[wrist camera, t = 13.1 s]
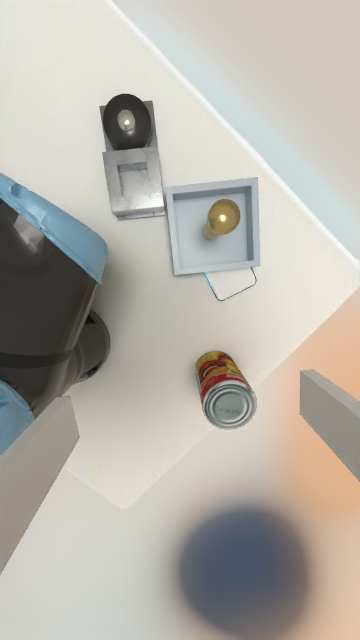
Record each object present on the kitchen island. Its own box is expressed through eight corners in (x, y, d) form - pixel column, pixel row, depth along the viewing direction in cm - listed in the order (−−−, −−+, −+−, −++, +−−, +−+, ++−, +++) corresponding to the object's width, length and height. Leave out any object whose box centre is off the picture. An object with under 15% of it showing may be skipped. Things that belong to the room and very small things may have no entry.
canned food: (241, 375, 43) (266, 413, 32) (207, 394, 44) (219, 438, 32) (222, 343, 42) (241, 370, 30) (187, 363, 43) (192, 398, 31)
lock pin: (200, 245, 37) (209, 235, 27) (198, 220, 37) (207, 200, 27) (223, 242, 37) (241, 231, 27) (221, 217, 37) (239, 197, 27)
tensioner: (165, 215, 37) (164, 209, 33) (118, 220, 37) (112, 215, 33) (152, 103, 34) (150, 84, 30) (100, 109, 34) (92, 90, 30)
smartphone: (256, 282, 40) (220, 197, 37) (258, 282, 39) (221, 195, 36) (217, 302, 41) (178, 219, 37) (218, 302, 40) (178, 218, 37)
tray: (174, 275, 39) (174, 275, 35) (165, 195, 36) (165, 187, 33) (252, 266, 39) (260, 265, 35) (249, 186, 36) (257, 177, 33)
